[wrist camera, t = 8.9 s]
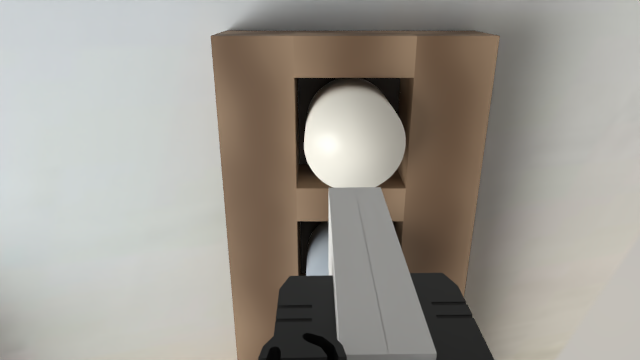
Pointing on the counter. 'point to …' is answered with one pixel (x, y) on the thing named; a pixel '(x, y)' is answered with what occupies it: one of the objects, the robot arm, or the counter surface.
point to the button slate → (318, 251)
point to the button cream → (353, 135)
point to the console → (313, 194)
